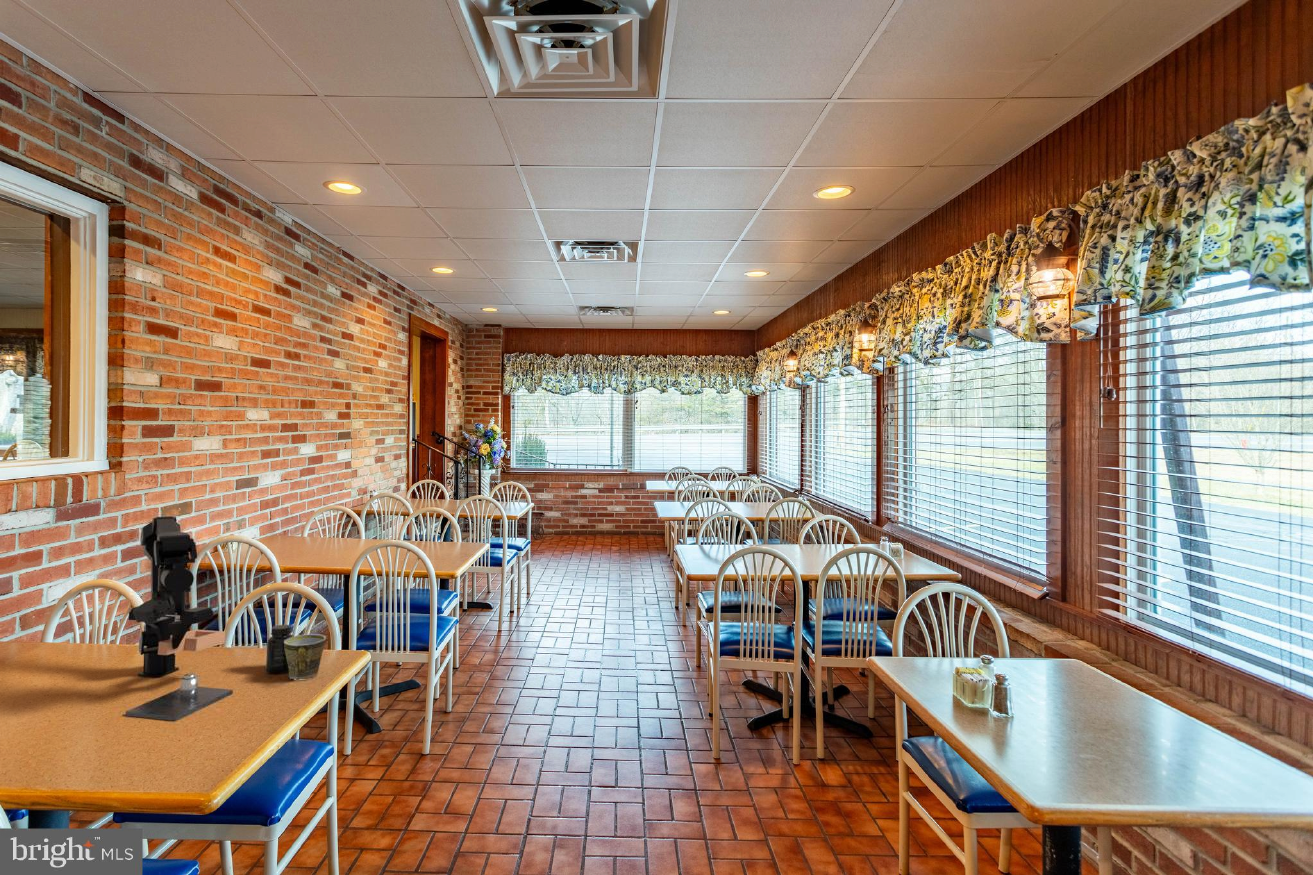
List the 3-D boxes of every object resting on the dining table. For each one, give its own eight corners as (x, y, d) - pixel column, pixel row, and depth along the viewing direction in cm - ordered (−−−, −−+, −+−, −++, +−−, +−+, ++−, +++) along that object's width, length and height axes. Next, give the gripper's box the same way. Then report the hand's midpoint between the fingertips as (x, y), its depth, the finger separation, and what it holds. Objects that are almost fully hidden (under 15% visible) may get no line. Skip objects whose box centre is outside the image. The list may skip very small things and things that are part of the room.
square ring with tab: (146, 653, 157) (147, 641, 157) (194, 640, 171) (195, 629, 171) (178, 655, 156) (179, 643, 156) (224, 643, 169) (225, 631, 170)
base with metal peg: (125, 715, 145) (126, 688, 145) (186, 689, 161) (187, 664, 161) (175, 721, 144) (176, 692, 144) (232, 693, 159) (233, 668, 159)
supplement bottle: (299, 666, 179) (301, 623, 179) (283, 675, 172) (285, 631, 173) (277, 665, 180) (278, 622, 180) (259, 673, 173) (261, 629, 173)
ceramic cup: (286, 671, 175) (287, 635, 175) (327, 668, 179) (328, 632, 179) (276, 689, 163) (278, 650, 163) (320, 685, 167) (321, 646, 167)
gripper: (107, 590, 152) (105, 656, 152) (176, 594, 149) (174, 661, 149) (150, 580, 163) (148, 642, 163) (216, 584, 160) (213, 647, 160)
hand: (170, 648), depth 158 cm, fingers closed on square ring with tab, 2 cm apart
